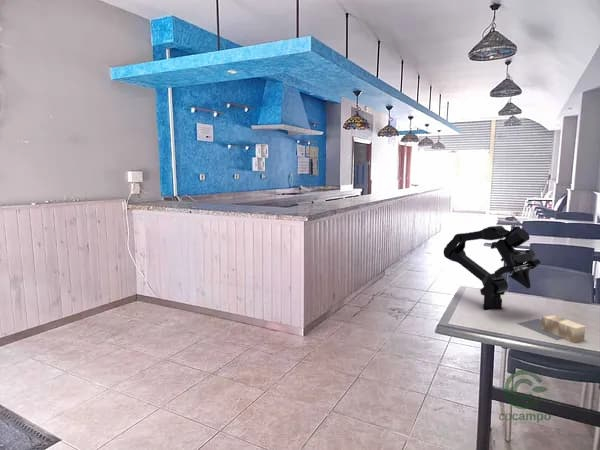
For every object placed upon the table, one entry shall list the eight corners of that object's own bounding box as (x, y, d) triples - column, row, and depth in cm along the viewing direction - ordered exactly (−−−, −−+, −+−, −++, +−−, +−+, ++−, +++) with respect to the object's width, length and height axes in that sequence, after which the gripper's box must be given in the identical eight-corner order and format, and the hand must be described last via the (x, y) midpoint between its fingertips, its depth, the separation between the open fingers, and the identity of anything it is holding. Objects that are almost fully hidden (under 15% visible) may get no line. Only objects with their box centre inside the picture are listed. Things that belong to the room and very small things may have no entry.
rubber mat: (516, 324, 151) (516, 323, 151) (538, 320, 155) (538, 318, 155) (557, 341, 136) (557, 340, 136) (579, 335, 141) (580, 334, 140)
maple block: (542, 316, 144) (575, 328, 133) (551, 314, 146) (585, 326, 135) (541, 329, 145) (574, 342, 134) (550, 327, 147) (584, 340, 136)
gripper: (501, 248, 150) (523, 285, 143) (538, 239, 156) (562, 274, 148) (485, 260, 160) (505, 296, 152) (521, 252, 165) (542, 285, 158)
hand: (529, 288), depth 153 cm, fingers closed
